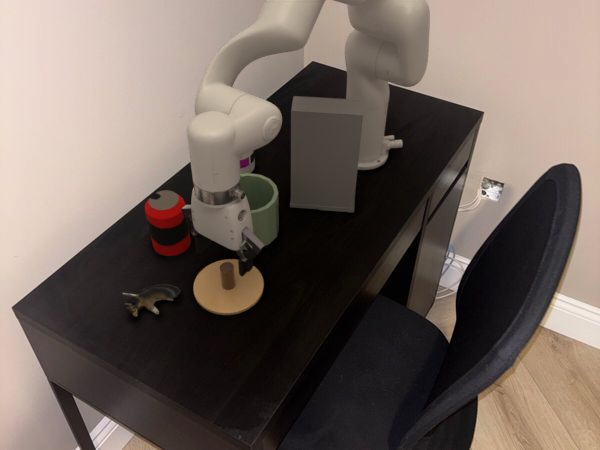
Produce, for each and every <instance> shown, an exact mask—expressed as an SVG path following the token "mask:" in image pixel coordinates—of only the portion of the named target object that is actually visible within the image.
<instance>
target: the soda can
mask: <svg viewBox="0 0 600 450" xmlns="http://www.w3.org/2000/svg"><path fill="white" fill-rule="evenodd" d="M185 205H186V202H185V199H184V198H183V197H182V196H181V195H180V194H178V193H176V192H175V191H173V190H168V189H167V190H166V189H165V190H159V191H156V192H154V193H153V194H151V195H150V197H149V198H148V199H147V201H146V202H145V204H144V212H145V217H146V222H147V226H148V230H149V234H150V240H151V242H152V246H153V247H152V248H153V249H154V251H155V252H156V253H157V254H159V255H161V256H164V257H165V256H166V257H173V256H177V255H180V254H182V253H184V252H186V250H188V249H189V247H190V246H191V244H192V243H191V242H192V241H191V240H192V239H191V231H190V227H189V225H188V224H187V223H186V218H185V217H184V215H183V213H182V211H181V208H183V207H184V206H185Z"/></svg>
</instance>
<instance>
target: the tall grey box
mask: <svg viewBox="0 0 600 450" xmlns="http://www.w3.org/2000/svg"><path fill="white" fill-rule="evenodd" d="M362 120H363V100H353V99H346V98H337V97H336V98H335V97H334V98H333V97H320V96H319V97H317V96H302V95H301V96H300V95H293V97H292V103H291V110H290V202H289V208H296V209H309V210H310V209H311V210H319V211H326V212H327V211H328V212H340V213H343V212H344V213H355V205H356V189H357V188H356V187H357V178H358V171H359V170H358V160H359V150H360V140H361V130H362Z"/></svg>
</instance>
